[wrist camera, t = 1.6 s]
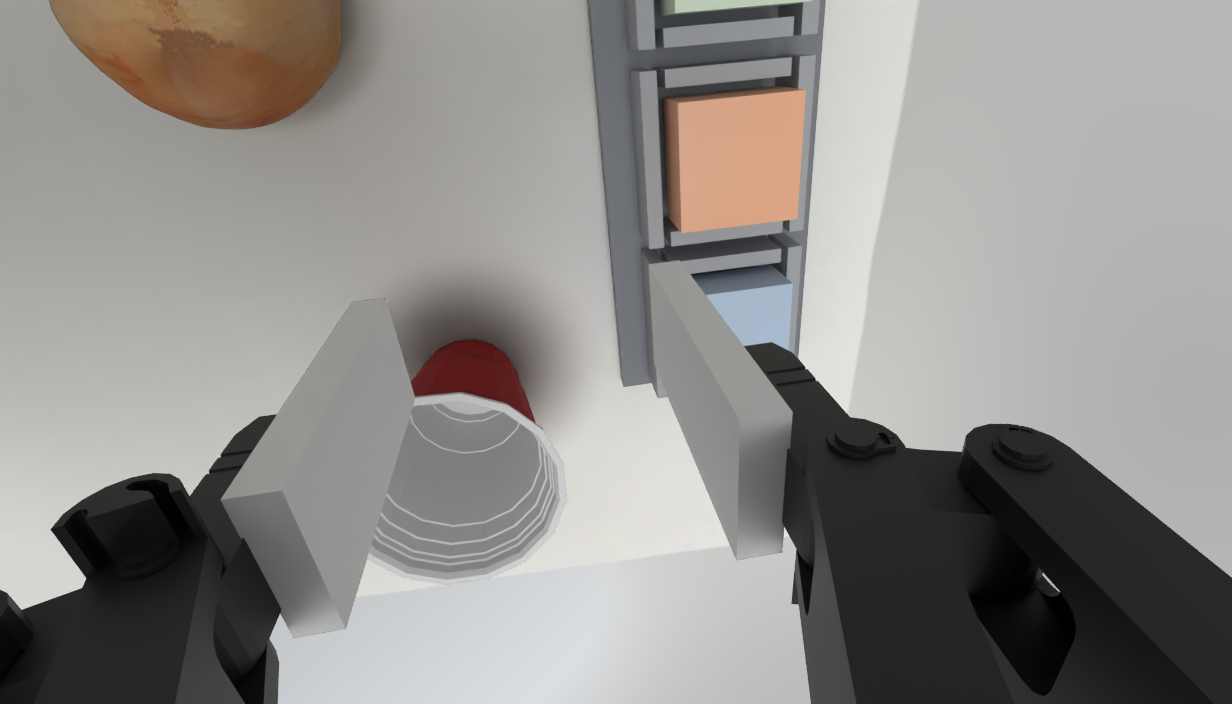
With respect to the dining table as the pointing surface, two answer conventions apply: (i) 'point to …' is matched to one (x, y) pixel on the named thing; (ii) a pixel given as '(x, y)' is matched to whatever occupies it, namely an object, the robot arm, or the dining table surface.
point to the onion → (210, 53)
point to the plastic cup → (469, 474)
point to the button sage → (716, 5)
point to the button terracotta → (733, 157)
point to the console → (636, 154)
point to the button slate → (752, 303)
